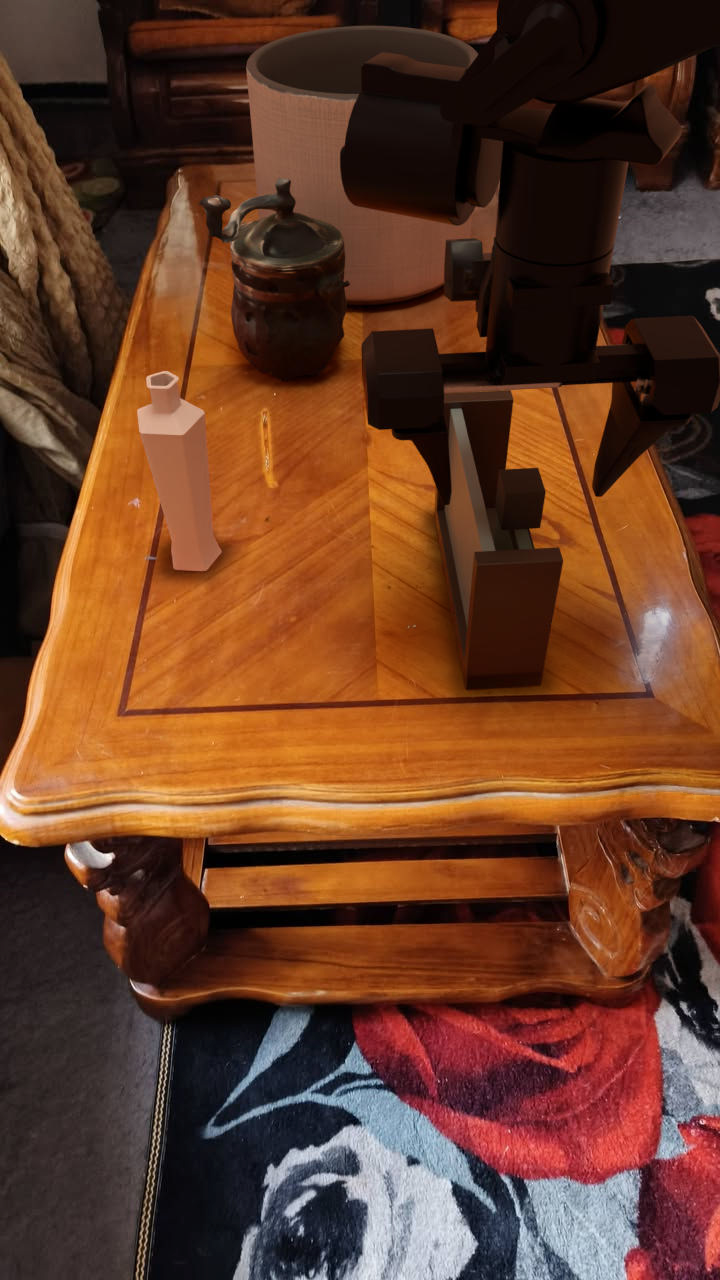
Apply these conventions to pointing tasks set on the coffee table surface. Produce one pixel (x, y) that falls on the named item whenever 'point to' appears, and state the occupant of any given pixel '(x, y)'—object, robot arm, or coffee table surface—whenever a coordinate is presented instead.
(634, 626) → the coffee table surface
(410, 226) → the planter
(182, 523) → the perfume bottle
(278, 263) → the coffee grinder
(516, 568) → the window frame
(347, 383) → the coffee table surface
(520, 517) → the pane
